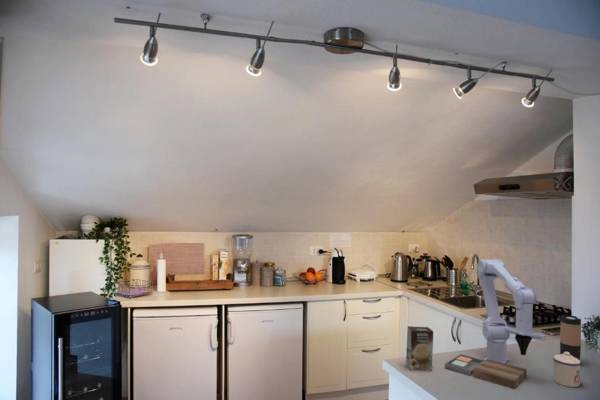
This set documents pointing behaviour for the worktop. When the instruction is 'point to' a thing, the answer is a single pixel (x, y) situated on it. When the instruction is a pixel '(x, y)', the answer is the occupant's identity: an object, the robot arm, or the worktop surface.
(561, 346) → the travel mug
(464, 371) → the box
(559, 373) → the cream lidded canister
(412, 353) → the coffee box
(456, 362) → the sage tile
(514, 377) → the walnut plate
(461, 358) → the terracotta tile
